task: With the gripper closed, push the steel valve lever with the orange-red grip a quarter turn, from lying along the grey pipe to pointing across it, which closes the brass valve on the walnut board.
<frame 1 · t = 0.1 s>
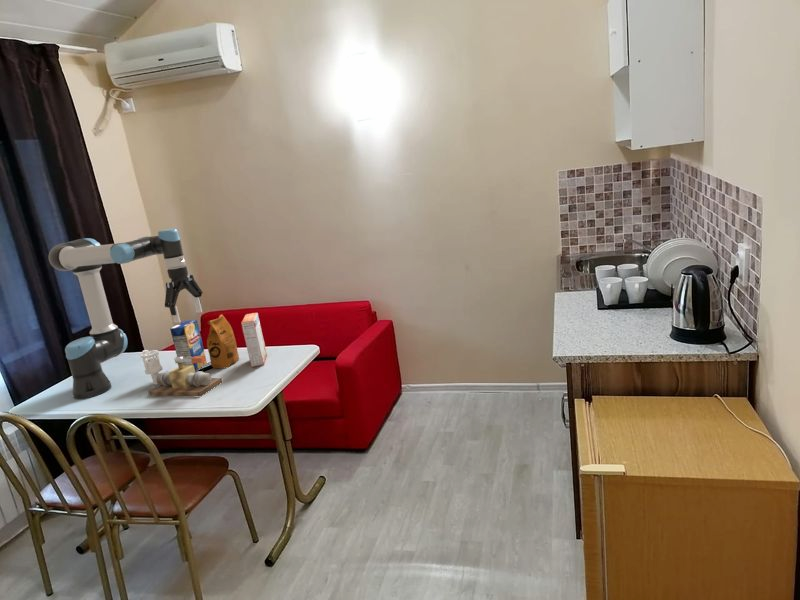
hand: (188, 317, 246), 28 cm above the table, tool pointing down, fingers open, 13 cm apart
beverage box: (195, 371, 267), on the table
coffee package: (226, 364, 270), on the table
white upright piece: (157, 383, 258), on the table
valve lever: (189, 359, 240), point 13 cm above the table, hinge at 0.0°
cracker box: (259, 361, 267), on the table
valve stand: (186, 389, 245), on the table
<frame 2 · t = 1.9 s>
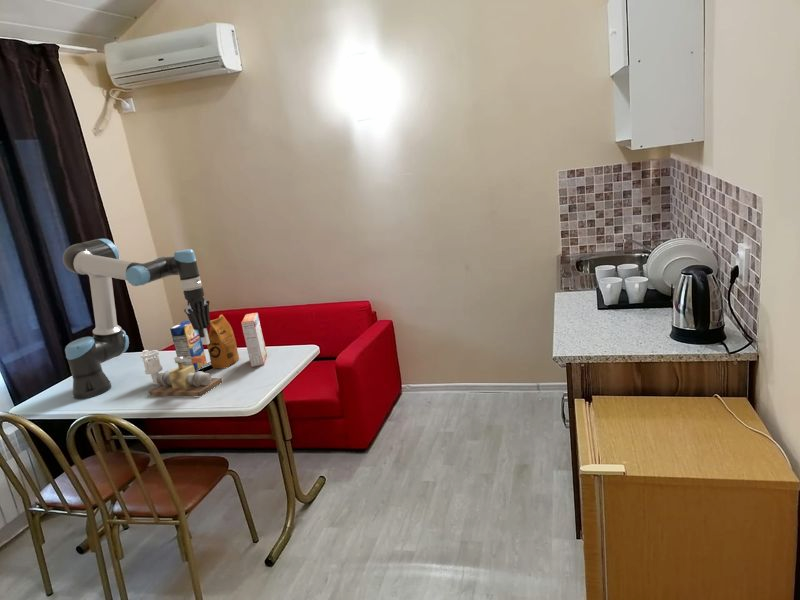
hand: (206, 343, 243), 17 cm above the table, tool pointing down, fingers closed
nothing on the table moved.
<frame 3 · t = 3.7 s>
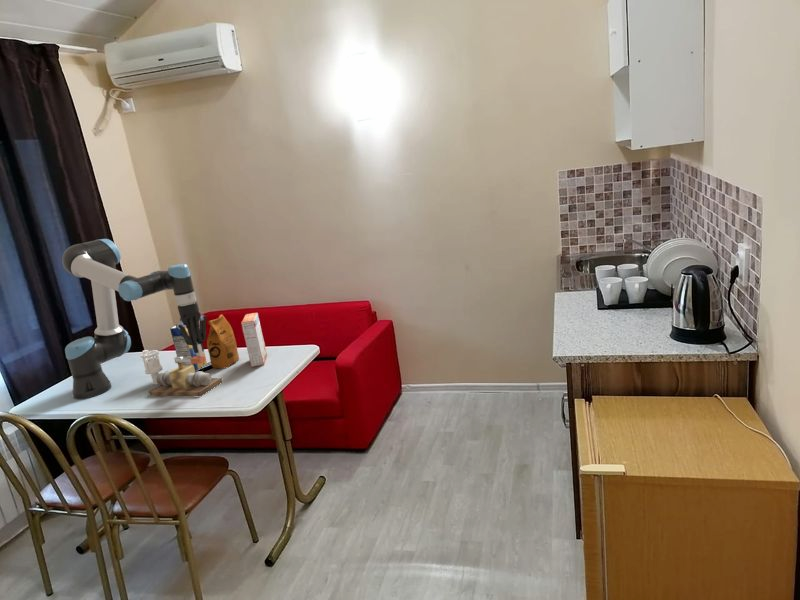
hand: (201, 359, 240), 12 cm above the table, tool pointing down, fingers closed
valve lever: (189, 359, 239), point 13 cm above the table, hinge at -3.4°, touching gripper
everything else where it was.
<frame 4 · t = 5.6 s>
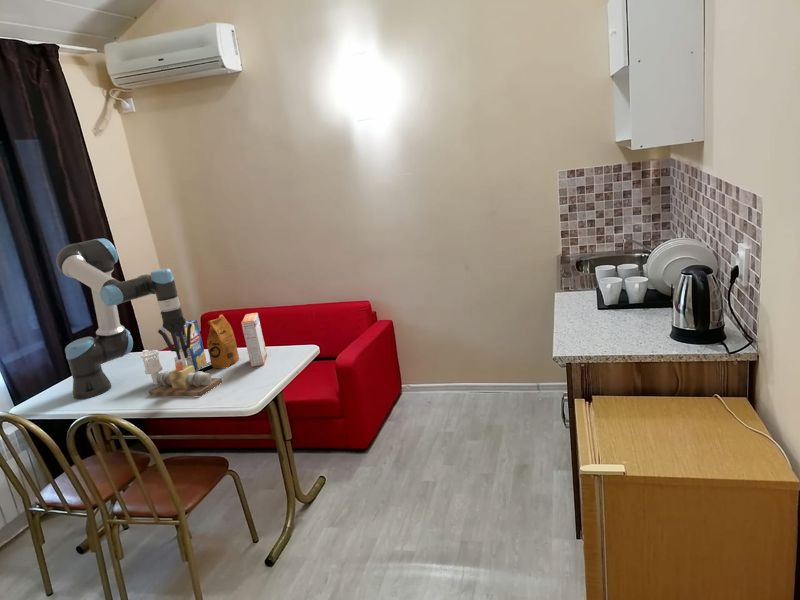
hand: (185, 366, 234), 12 cm above the table, tool pointing down, fingers closed
valve lever: (179, 363, 237), point 13 cm above the table, hinge at -48.3°, touching gripper
everything else where it was.
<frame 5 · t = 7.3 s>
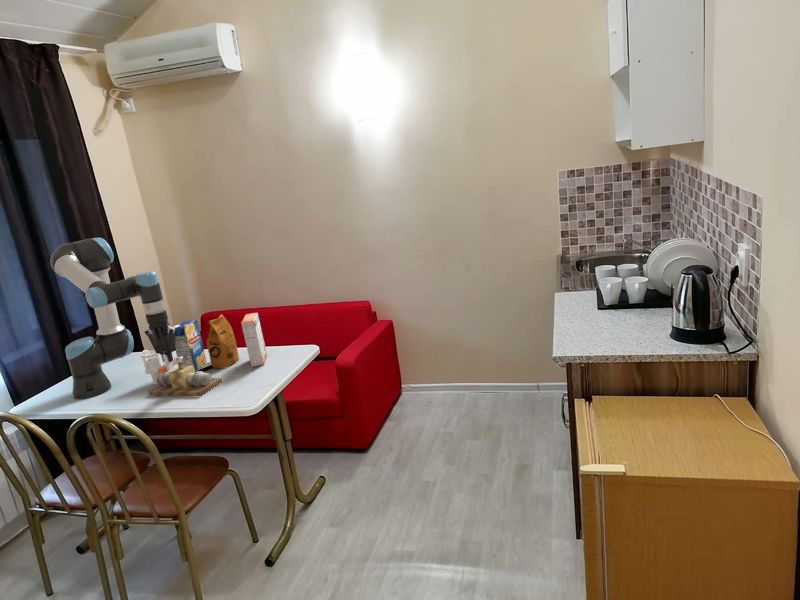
hand: (170, 369, 232), 12 cm above the table, tool pointing down, fingers closed
valve lever: (171, 364, 236), point 13 cm above the table, hinge at -81.5°, touching gripper
everything else where it was.
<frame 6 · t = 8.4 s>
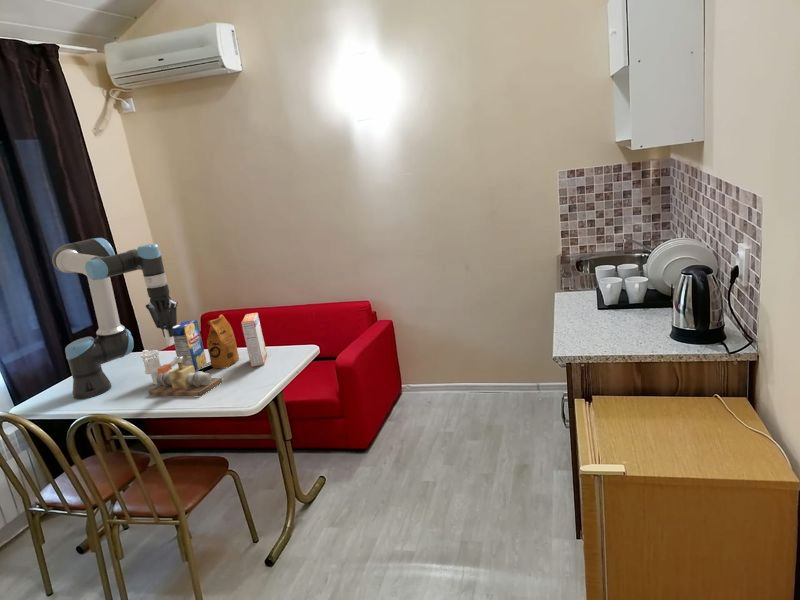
hand: (171, 344, 229), 23 cm above the table, tool pointing down, fingers closed
valve lever: (171, 364, 236), point 13 cm above the table, hinge at -81.6°
everything else where it was.
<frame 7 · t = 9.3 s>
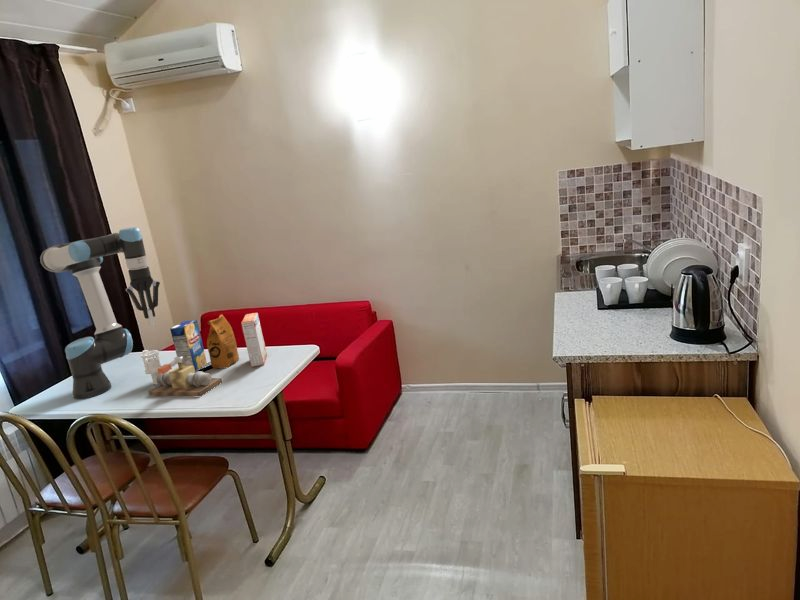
hand: (152, 325, 237), 29 cm above the table, tool pointing down, fingers closed
nothing on the table moved.
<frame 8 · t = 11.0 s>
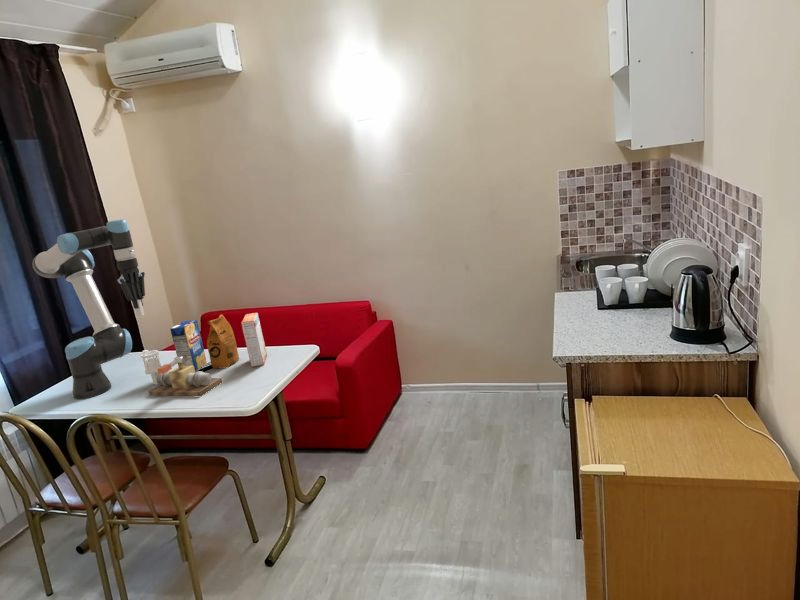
hand: (140, 315, 242), 32 cm above the table, tool pointing down, fingers closed
nothing on the table moved.
at the end: valve lever at -82° (first picture: +0°) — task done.
